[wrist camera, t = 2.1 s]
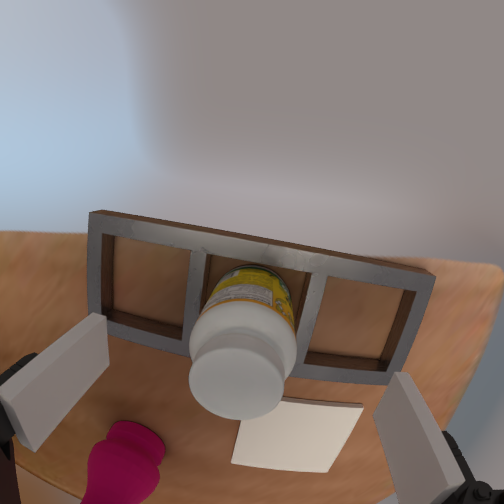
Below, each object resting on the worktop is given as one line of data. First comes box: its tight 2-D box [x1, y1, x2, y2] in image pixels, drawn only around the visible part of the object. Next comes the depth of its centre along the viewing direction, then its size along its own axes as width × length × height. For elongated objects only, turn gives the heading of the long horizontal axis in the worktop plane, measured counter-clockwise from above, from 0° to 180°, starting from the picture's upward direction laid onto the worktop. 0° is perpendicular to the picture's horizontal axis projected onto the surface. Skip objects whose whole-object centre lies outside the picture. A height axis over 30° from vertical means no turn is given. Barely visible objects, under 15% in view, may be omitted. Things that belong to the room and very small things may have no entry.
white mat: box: [231, 397, 364, 472], centre depth 23 cm, size 10×10×1 cm
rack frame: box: [87, 210, 436, 385], centre depth 20 cm, size 24×9×2 cm, turn 80°
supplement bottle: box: [189, 265, 297, 420], centre depth 16 cm, size 5×5×10 cm
